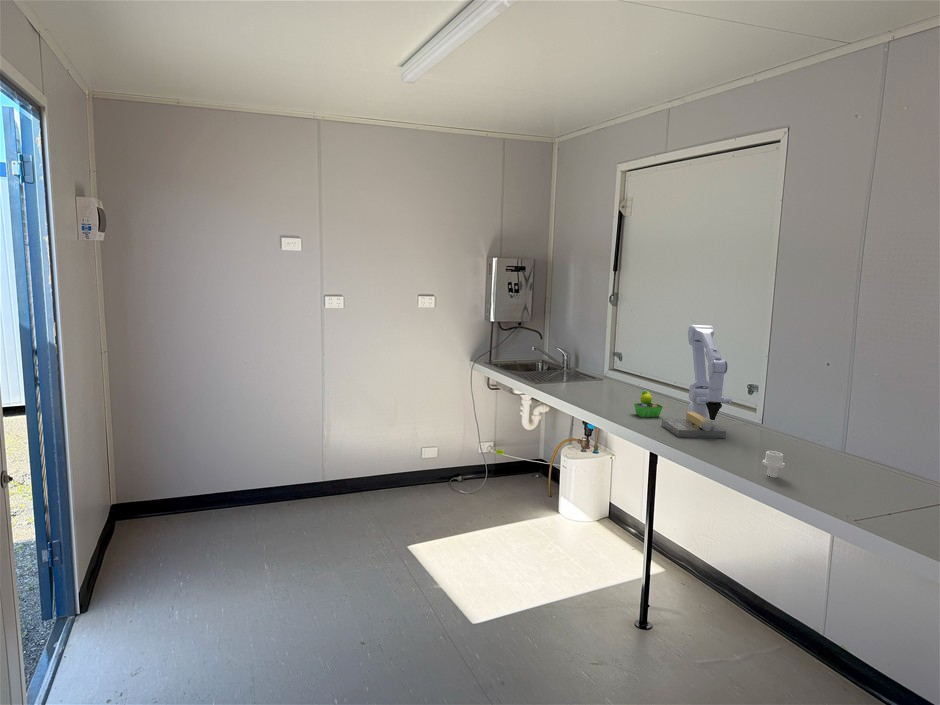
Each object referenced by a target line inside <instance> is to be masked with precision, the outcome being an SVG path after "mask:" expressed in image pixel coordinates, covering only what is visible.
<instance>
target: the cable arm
mask: <svg viewBox="0 0 940 705" xmlns="http://www.w3.org/2000/svg"><path fill="white" fill-rule="evenodd" d="M685 419H687V420H689V421H691V422H692V423H694V424H696V425H697V426H699V427H700V428H702V429H705V430H712V423H713V420H710V419H709V418H708V419H706V418H704V417H702V416H701V415H699V414H697V413H695V412H688V411H686V415H685Z"/></svg>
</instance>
